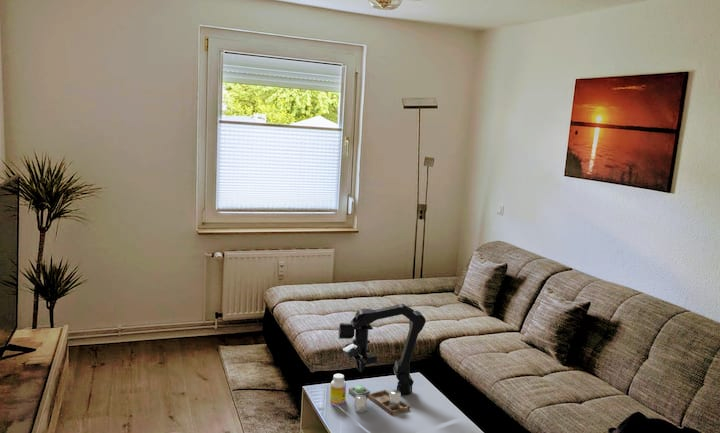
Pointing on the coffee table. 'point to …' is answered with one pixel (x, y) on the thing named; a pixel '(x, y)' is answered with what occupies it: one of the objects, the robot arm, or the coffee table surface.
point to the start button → (359, 389)
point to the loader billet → (394, 399)
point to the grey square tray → (365, 393)
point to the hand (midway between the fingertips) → (360, 371)
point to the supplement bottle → (338, 390)
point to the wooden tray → (387, 402)
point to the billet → (360, 403)
